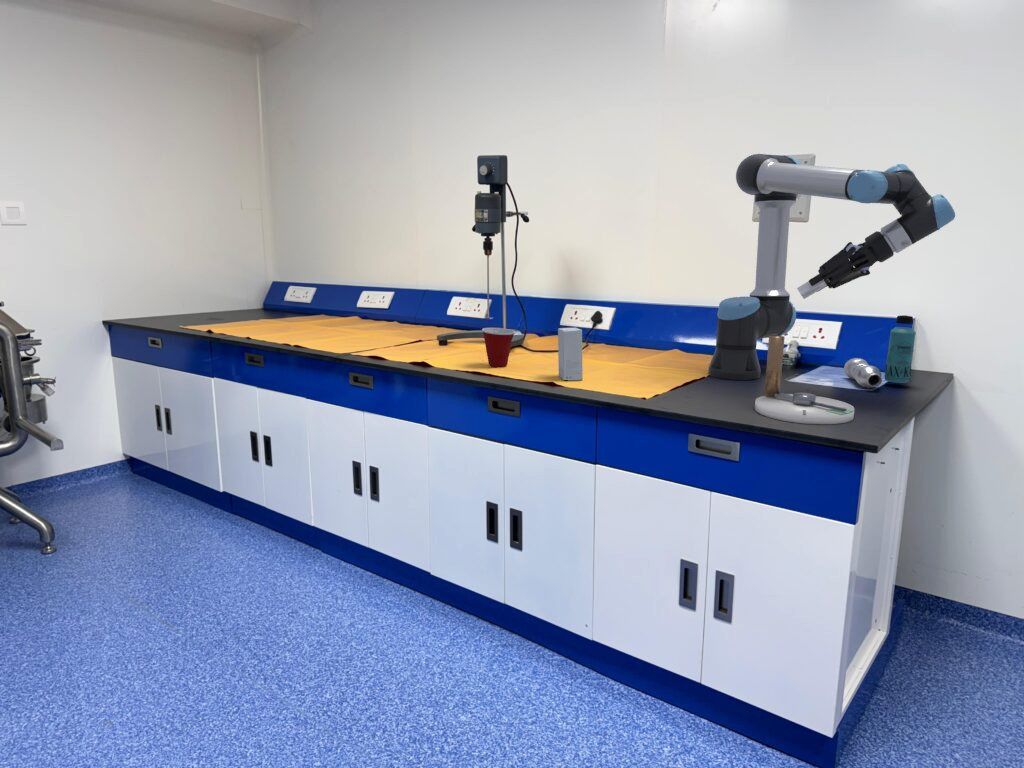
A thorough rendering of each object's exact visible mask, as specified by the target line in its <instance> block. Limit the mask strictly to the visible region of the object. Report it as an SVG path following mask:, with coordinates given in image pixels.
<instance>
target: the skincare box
mask: <svg viewBox="0 0 1024 768" xmlns="http://www.w3.org/2000/svg"><path fill="white" fill-rule="evenodd" d="M557 341H558V342H557V346H558V347H557V352H558V353H557V355H558V356H557V357H558V359H557V360H558V377H559V376H560V377H559V378H560V379H562V381H564V380H568V381H577V380H578V381H583V378H584V376H583V374H584V373H583V329H581V328H578V327H560V328H557Z"/></svg>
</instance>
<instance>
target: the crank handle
mask: <svg viewBox="0 0 1024 768" xmlns="http://www.w3.org/2000/svg"><path fill="white" fill-rule="evenodd" d="M784 348H785V336H784V335H782V336H776V335H772V336H769V338H768V345H767V356H766V357H767V358H766V370H765V380H764V381H765V382H764V394H763V396H766V397H773V398H776V397H778V398H782V399H787V400H791V401H793V403H795V404H798V405H816V406H821V407H825V408H830V409H834V410H839V411H843V412H844V411H846V409H845V408H840V407H836V406H831V405H827V404H822V403H817V402H815V401H816V396H817V395H816V394H814V393H809V392H794V393H792V394H793V395H789V394H790V393H783V392H781V383H782V373H783V372H782V370H783V362H784V361H783V360H784Z"/></svg>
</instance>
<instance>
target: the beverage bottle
mask: <svg viewBox="0 0 1024 768" xmlns="http://www.w3.org/2000/svg"><path fill="white" fill-rule="evenodd" d="M895 323H896V324H899V325H900V324H903V325H912V324H913V323H914V317H913V316H912V315H897V316H896V321H895ZM916 334H917V333H916V331H915V330H914V329H913V328H911V327H905V326H904V327H903V326H895V327H894V328H892V329H891V330H890V335H889V342H888V350H887V352H886V363H885V369H884V376H883V377H884V381H886V382H888V383H889V382H890V383H894V384H895V383H897V384H898V383H899V384H904V383H905V384H907V383H909V382H910V380H911V371H912V364H913V360H914V359H913V357H914V356H913V355H914V345H915V338H916Z"/></svg>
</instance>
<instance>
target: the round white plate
mask: <svg viewBox="0 0 1024 768" xmlns="http://www.w3.org/2000/svg"><path fill="white" fill-rule="evenodd" d="M788 394H789V395H793V394H794V393H788ZM754 401H755V402H754V403H755V404H754V410H755V412H757V414H760V415H762V416H765V417H767V418H771V419H774V420H778V421H783V422H790V423H796V424H807V425H838V424H840V425H841V424H844V423H845V424H846V423H849V422H851V421H853V420H854V418H855V407H854V406H853V405H851V404H850V403H847V402H845V401H842V400H838V399H833V398H830V397H824V396H817V395H816V401H815V402H817V403H822V404H827V405H831V406H836V407H840V408H845V409H846V411H844V412H843V411H839V410H834V409H830V408H825V407H821V406H816V405H798V404H795V403H793V401H791V400H787V399H782V398H778V397H776V398H773V397H766V396H764V395H762V396H759V397H757V398H755V400H754Z"/></svg>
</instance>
